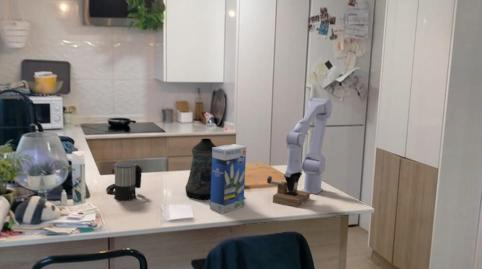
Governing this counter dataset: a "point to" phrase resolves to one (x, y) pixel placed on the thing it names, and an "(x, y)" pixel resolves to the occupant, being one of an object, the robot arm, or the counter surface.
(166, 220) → the counter surface
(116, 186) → the milk frother
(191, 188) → the beer stein
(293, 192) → the shiny metal cylinder
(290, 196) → the mount
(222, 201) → the string lights box
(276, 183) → the lock pin
